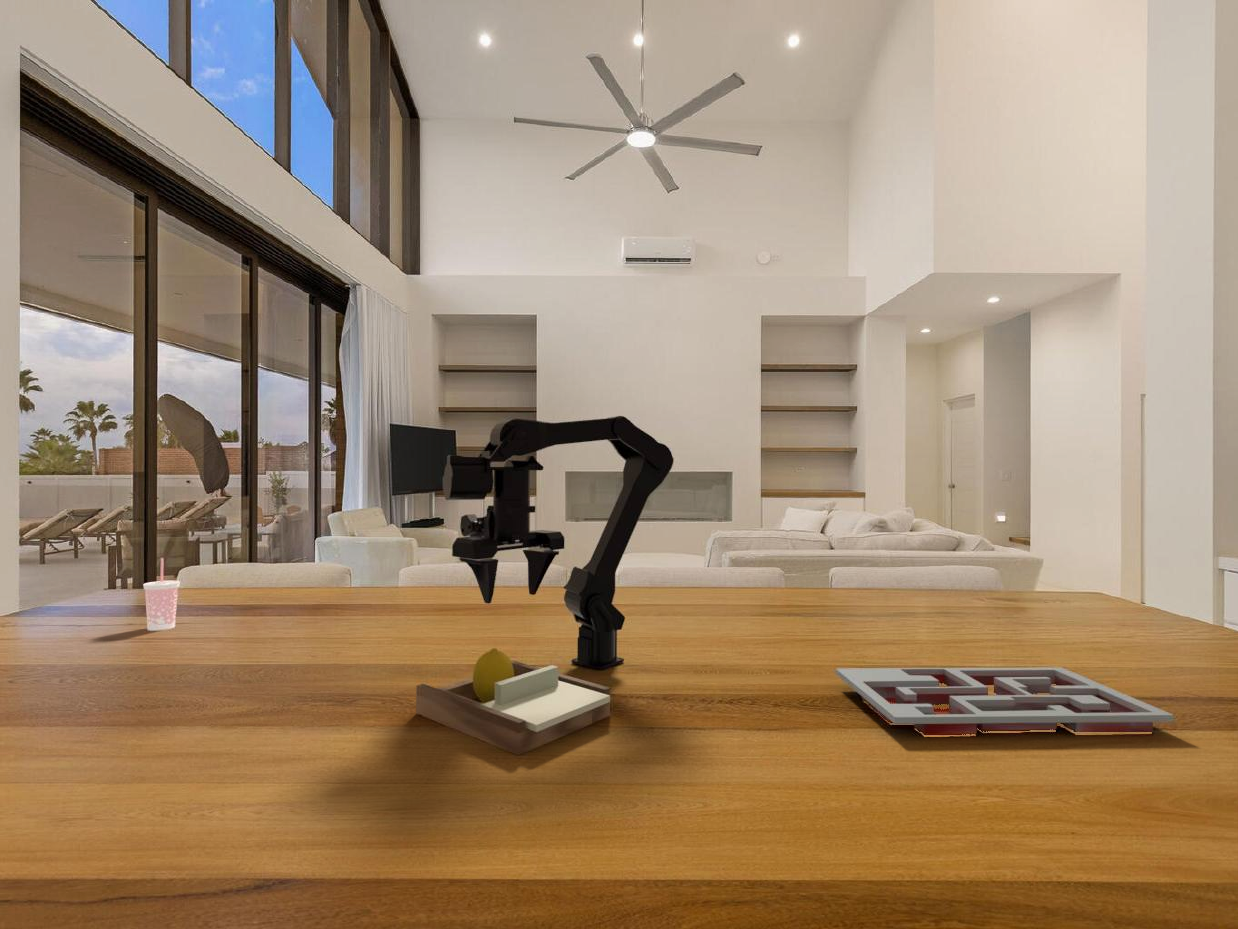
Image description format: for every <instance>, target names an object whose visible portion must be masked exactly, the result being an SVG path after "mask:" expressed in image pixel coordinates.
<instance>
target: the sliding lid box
mask: <svg viewBox="0 0 1238 929" xmlns="http://www.w3.org/2000/svg"><path fill="white" fill-rule="evenodd" d="M510 660H511V662H512V666H513V670H514V677H516V676H519V675H522V674H525V673H528V672H532V671H535V670H538V669H541V668H542V667H537V666H534V665H530V664H527V663H525V662H524V663H523V662H519V661H516V660H513V659H510ZM558 681H562V682H565V683H569V684H572V685H576V686H579V687H583V688H586V689H589V690H593V691H596V692H600V693H603V694H607V695H610V696H611V687H609V686H605V685H602V684H598V683H594V682H591V681H587V680H584V679H580V678H577V677H572V676H569V675H565V674H562V673H559V672H558ZM415 695H416V701H415V702H416V705H415V706H416V707H415V708H416V709H415V711H416V712H415V714H416V713H417V715H419V714H420V715H419V716H421V715H422V716H421V717H424V718H426V719H428V720H431V721H434V722H436V723H438V724H441V725H443V726H446V727H448V728H451V729H452V730H455V731H458V732H460V733H463V734H465V735H467V736H470V737H472V738H475V739H478V740H480V741H482V742H485V743H487V744H489V745H492V746H494V747H497V748H498V749H501V750H504V751H507V752H509V753H511V754H514V755H516V756H518V757H519V756H521V755H525V754H526V753H528V752H531V751H532V750H535V749H538V748H539V747H542V746H544V745H547V744H549V743H552V742H553V741H555V740H558V739H561V738H562V737H565V736H567V735H569V734H571V733H573V732H577V731H578V730H581V729H583V728H586V727H588V726H589V725H590V726H591V725H593V724H595V723H596V722H599V721H601V720H603V719H605V718H609V717H610V716H611V711H610V710H611V701H610V702H608V703H606V704H604V705H601V706H599V707H596V708H594V709H591V710H589V711H587V712H584V713H582V714H579V715H577V716H574V717H572V718H570V719H567V720H565V721H562V722H560V723H557V724H555V725H553V726H550V727H548V728H545V729H543V730H540V731H538V732H535V731H532V730H530V729H527V728H526V720H523V719H520V718H517V717H515V716H512V715H509V714H506V713H503V712H501V711H498V710H495V709H492V708H490V707H487V706H484V705H481V704H483V702H479V701H477V699H479V698H478V697H477V695H476V693H475V691H474V687H473V677H471V678H468V679H465V680H461V681H457V682H455V683H452V684H448V685H444V686H441V687H437V688H436V687H434V686H431V685H428V684H424V683H420V684H418V685H416V693H415Z"/></svg>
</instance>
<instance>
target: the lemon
mask: <svg viewBox="0 0 1238 929" xmlns="http://www.w3.org/2000/svg"><path fill="white" fill-rule="evenodd" d="M511 660H512V659H510V657H509V656H508V655H507V654H506V653H504V652H502V651H500V650H498V649H497V648H491V649H490V650H489V651H487V652H485V653H484V654H482V655H481V656H480V657H479V658H478V659H477V661H476V662H475V666H474V669H473V672H472V673H473V674H472V678H473V687H474V691H475V693H476V695H477V697H478V698H477V699H479V700H480V701H482V703H487V702H490V701H493V700H495V683H497V682H500V681H503V680H506V679H509V678H512V677H514V670H513V666H512V662H511Z"/></svg>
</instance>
